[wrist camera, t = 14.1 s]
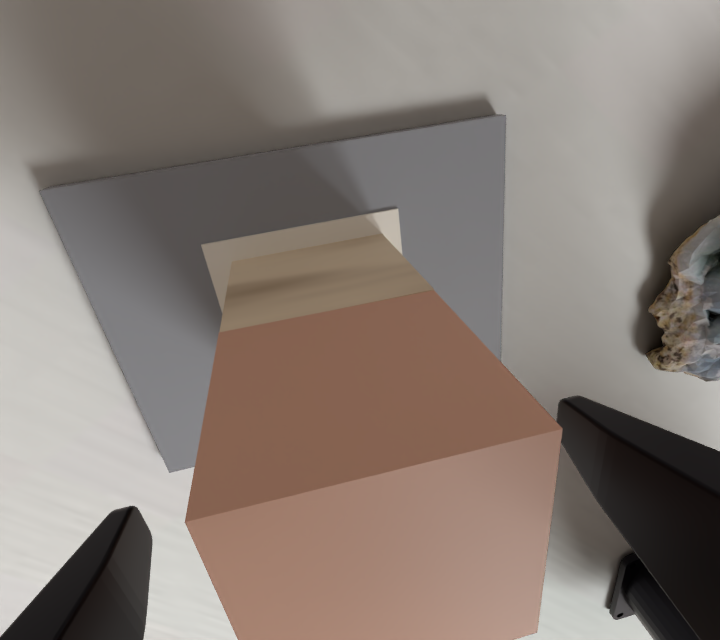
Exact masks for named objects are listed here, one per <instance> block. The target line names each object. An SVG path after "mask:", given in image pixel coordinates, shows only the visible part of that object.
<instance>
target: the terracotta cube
mask: <svg viewBox="0 0 720 640" xmlns="http://www.w3.org/2000/svg"><path fill="white" fill-rule="evenodd" d="M562 431H563V429H562V427H561V426H560V425H559V424H558V423H557V422H556V421H555V420H554V419H553V418H552V417H551V416H550V415H549V413H548V412H547V411H546V410H545V409H544V408H543V407H542V406H541V405H540V404H539V403H538V402H537V401H536V399H535V398H534V397H533V396H532V395H531V394H530V393H529V392H528V391H527V390H526V389H525V388H524V387H523V385H522V384H521V383H520V382H519V381H518V380H517V379H516V378H515V377H514V376H513V375H512V374H511V373H510V371H509V370H508V369H507V368H506V367H505V366H504V365H503V364H502V363H501V362H500V361H499V360H498V359H497V357H496V356H495V355H494V354H493V353H492V352H491V351H490V350H489V349H488V348H487V347H486V346H485V345H484V343H483V342H482V341H481V340H480V339H479V338H478V337H477V336H476V335H475V334H474V333H473V332H472V331H471V329H470V328H469V327H468V326H467V325H466V324H465V323H464V322H463V321H462V320H461V319H460V318H459V317H458V315H457V314H456V313H455V312H454V311H453V310H452V309H451V308H450V307H449V306H448V305H447V304H446V303H445V301H444V300H443V299H442V298H441V297H440V296H439V295H438V294H437V293H436V292H435V291H434V290H433V291H428V292H423V293H417V294H412V295H407V296H402V297H397V298H392V299H387V300H382V301H377V302H372V303H367V304H361V305H356V306H351V307H346V308H341V309H336V310H331V311H326V312H321V313H316V314H310V315H305V316H300V317H295V318H290V319H285V320H280V321H275V322H270V323H265V324H260V325H254V326H249V327H244V328H239V329H234V330H229V331H224V332H219V334H218V340H217V345H216V351H215V357H214V362H213V368H212V373H211V379H210V385H209V390H208V396H207V401H206V407H205V413H204V418H203V424H202V429H201V435H200V441H199V446H198V452H197V457H196V463H195V469H194V474H193V480H192V485H191V491H190V497H189V502H188V508H187V513H186V519H185V523H186V526H187V528H188V530H189V532H190V534H191V537H192V539H193V541H194V543H195V546H196V548H197V550H198V552H199V554H200V557H201V559H202V561H203V563H204V565H205V568H206V570H207V572H208V574H209V577H210V579H211V581H212V583H213V585H214V588H215V590H216V592H217V594H218V596H219V599H220V601H221V603H222V605H223V608H224V610H225V612H226V614H227V616H228V619H229V621H230V623H231V625H232V627H233V630H234V632H235V634H236V636H237V639H238V640H514V639H517V638H521V637H524V636H527V635H530V634H534V633H537V630H538V622H539V614H540V606H541V598H542V590H543V582H544V574H545V566H546V558H547V550H548V542H549V534H550V526H551V518H552V510H553V502H554V494H555V486H556V478H557V470H558V462H559V454H560V447H561V439H562Z"/></svg>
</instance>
